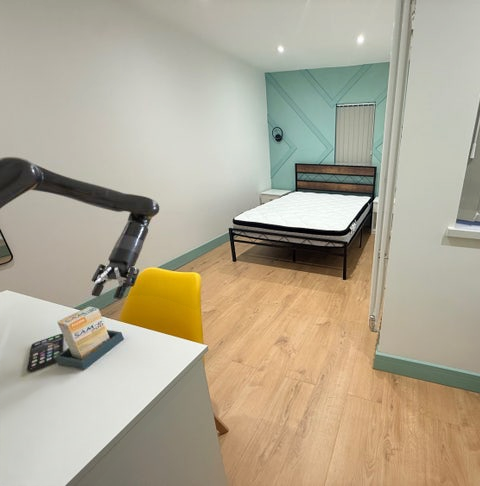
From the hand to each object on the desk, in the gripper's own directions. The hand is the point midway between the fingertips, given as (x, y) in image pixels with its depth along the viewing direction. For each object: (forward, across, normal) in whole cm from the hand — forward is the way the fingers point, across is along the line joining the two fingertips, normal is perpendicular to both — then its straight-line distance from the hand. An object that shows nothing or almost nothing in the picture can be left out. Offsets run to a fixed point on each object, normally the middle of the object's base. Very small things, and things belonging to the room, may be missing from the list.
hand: (106, 297), depth 84 cm
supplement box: (+16, 0, +4) cm, 16 cm away
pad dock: (+16, 0, +4) cm, 16 cm away
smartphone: (+18, -14, +2) cm, 23 cm away
